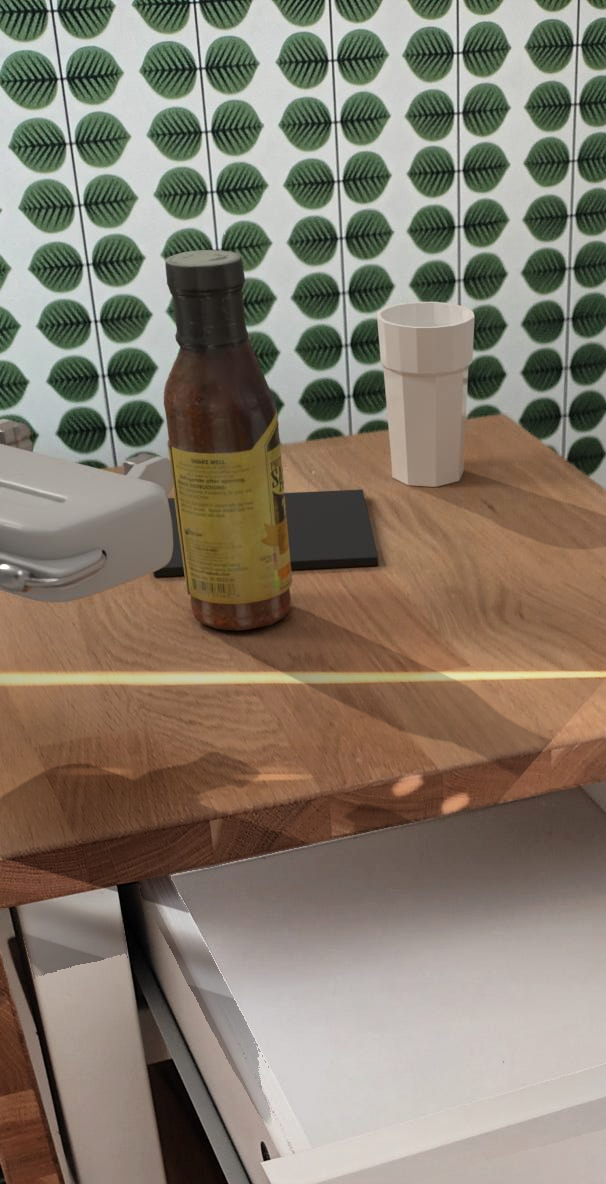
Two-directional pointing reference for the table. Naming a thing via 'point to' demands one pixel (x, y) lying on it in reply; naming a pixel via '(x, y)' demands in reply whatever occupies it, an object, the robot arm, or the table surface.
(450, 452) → the cup
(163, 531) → the robot arm
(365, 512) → the mat
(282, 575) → the sauce bottle
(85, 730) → the table surface
